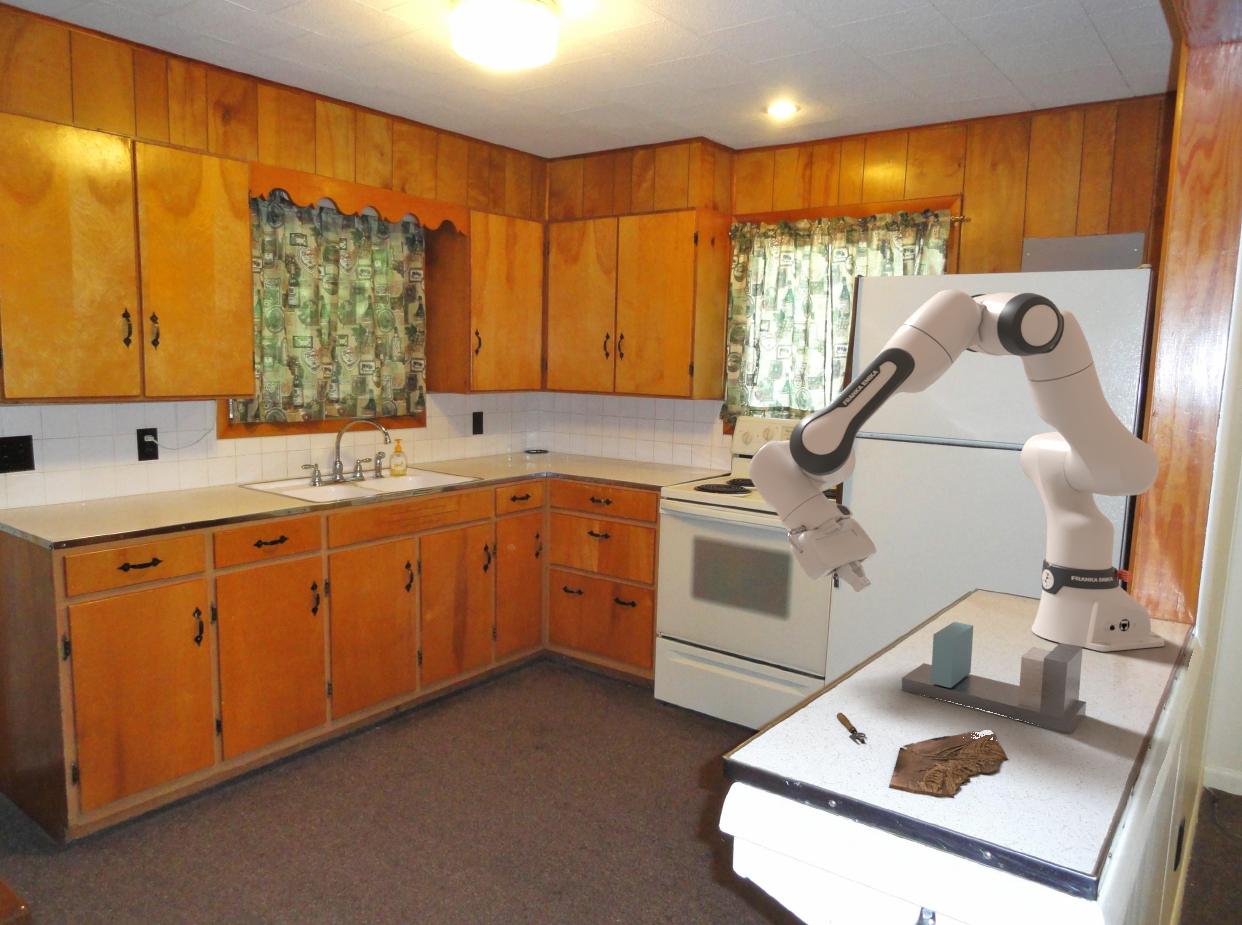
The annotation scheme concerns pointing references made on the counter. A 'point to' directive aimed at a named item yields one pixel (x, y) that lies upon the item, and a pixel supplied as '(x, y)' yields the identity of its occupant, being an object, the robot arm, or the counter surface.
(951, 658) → the slide jaw
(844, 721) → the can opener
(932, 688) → the vise bed
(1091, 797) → the counter surface
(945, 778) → the wooden fragment
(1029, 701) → the steel block
